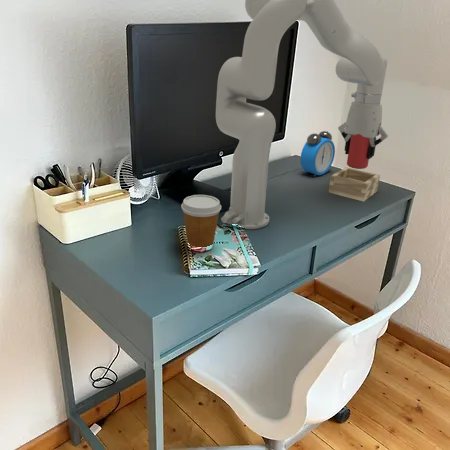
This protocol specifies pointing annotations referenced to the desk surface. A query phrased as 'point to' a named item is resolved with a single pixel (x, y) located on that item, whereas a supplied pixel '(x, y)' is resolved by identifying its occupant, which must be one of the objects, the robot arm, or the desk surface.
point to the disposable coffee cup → (200, 219)
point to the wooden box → (354, 184)
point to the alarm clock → (318, 153)
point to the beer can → (358, 152)
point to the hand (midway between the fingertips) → (358, 155)
